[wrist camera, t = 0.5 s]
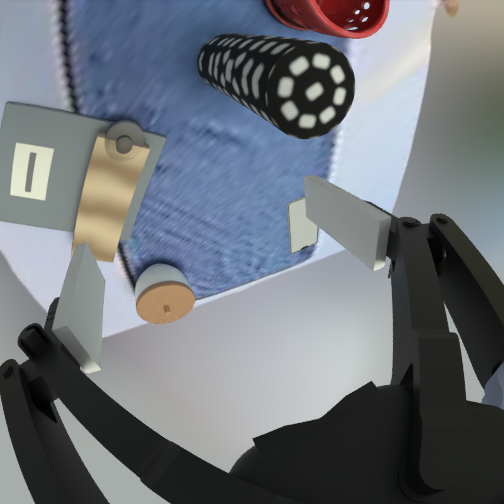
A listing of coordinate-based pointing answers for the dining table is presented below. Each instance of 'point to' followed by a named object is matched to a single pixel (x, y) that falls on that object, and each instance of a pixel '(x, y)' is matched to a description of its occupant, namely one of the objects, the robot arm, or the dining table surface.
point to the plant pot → (331, 16)
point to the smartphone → (300, 226)
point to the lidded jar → (163, 294)
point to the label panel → (55, 166)
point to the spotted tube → (282, 80)
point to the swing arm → (109, 188)
